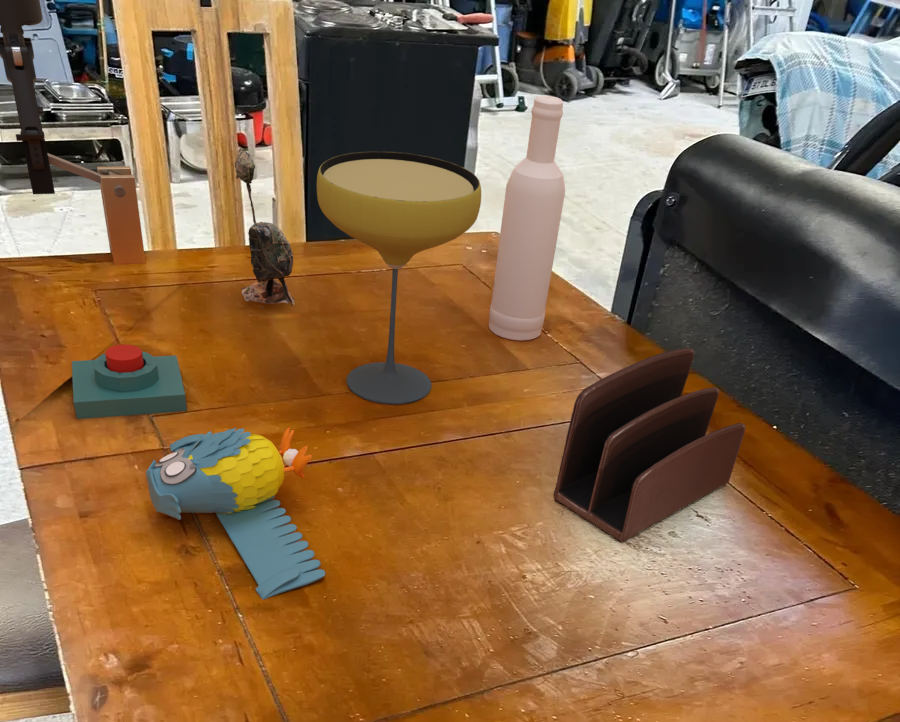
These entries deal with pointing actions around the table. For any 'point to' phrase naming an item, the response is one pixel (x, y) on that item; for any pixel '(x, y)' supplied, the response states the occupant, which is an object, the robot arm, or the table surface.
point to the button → (124, 358)
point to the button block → (127, 388)
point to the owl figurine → (239, 500)
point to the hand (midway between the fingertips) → (41, 180)
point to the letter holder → (643, 446)
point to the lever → (76, 168)
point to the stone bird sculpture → (265, 250)
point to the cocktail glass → (396, 234)
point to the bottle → (529, 230)
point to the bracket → (122, 215)
